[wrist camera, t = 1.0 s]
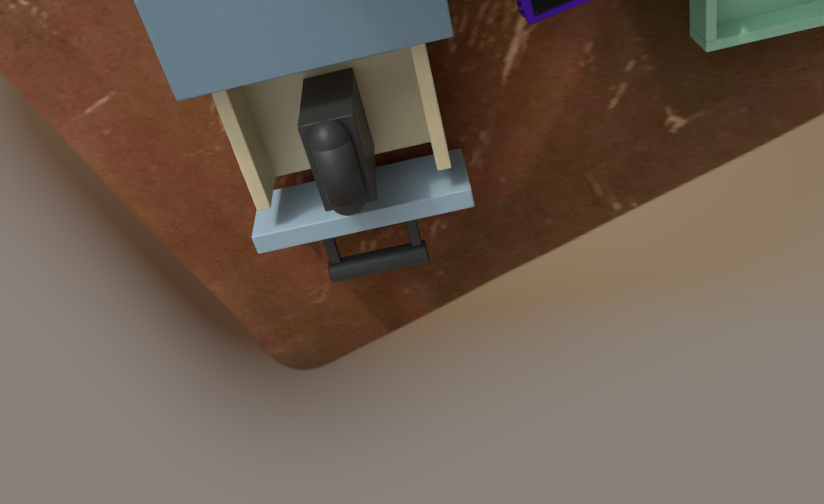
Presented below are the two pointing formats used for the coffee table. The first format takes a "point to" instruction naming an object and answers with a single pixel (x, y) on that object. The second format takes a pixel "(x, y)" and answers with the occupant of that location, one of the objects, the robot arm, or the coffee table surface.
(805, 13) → the tray
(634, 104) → the coffee table surface
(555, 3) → the handheld gaming console
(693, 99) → the coffee table surface
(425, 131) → the drawer
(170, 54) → the cabinet
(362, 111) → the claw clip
